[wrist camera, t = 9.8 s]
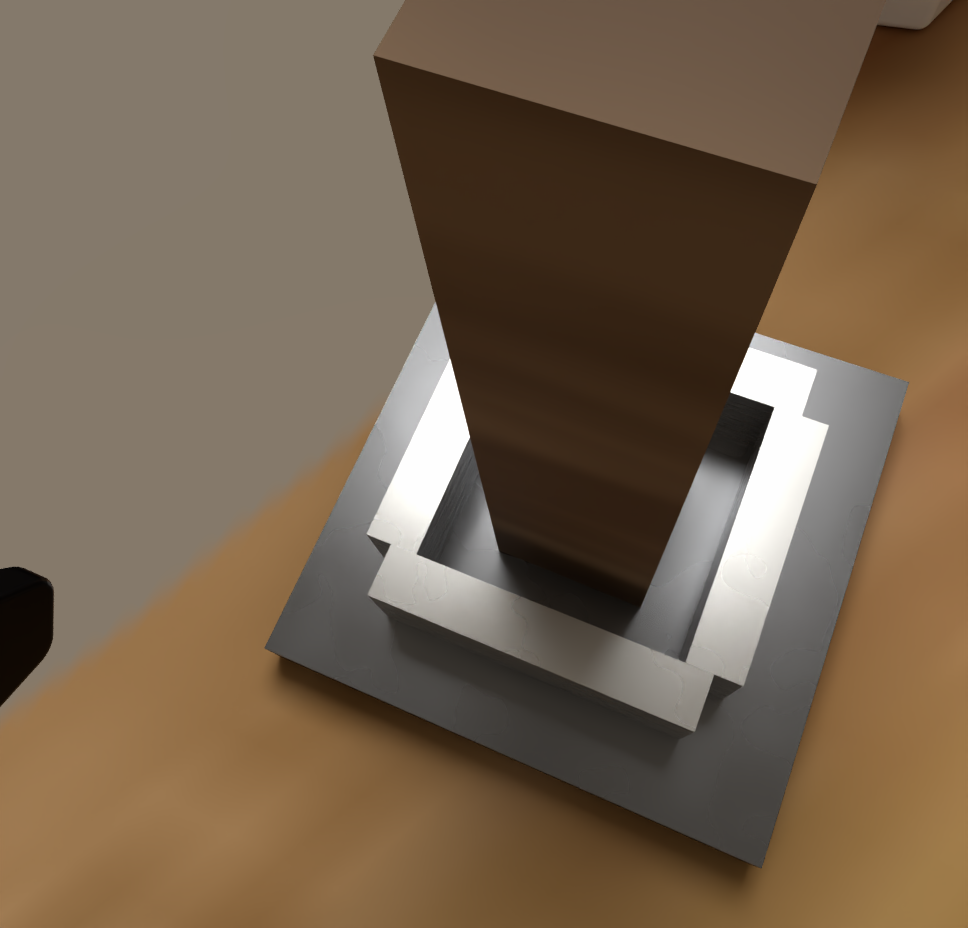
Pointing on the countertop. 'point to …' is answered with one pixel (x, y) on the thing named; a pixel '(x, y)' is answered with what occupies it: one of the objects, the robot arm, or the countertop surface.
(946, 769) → the countertop surface
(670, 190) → the walnut stick
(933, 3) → the jar
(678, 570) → the square frame on plate
